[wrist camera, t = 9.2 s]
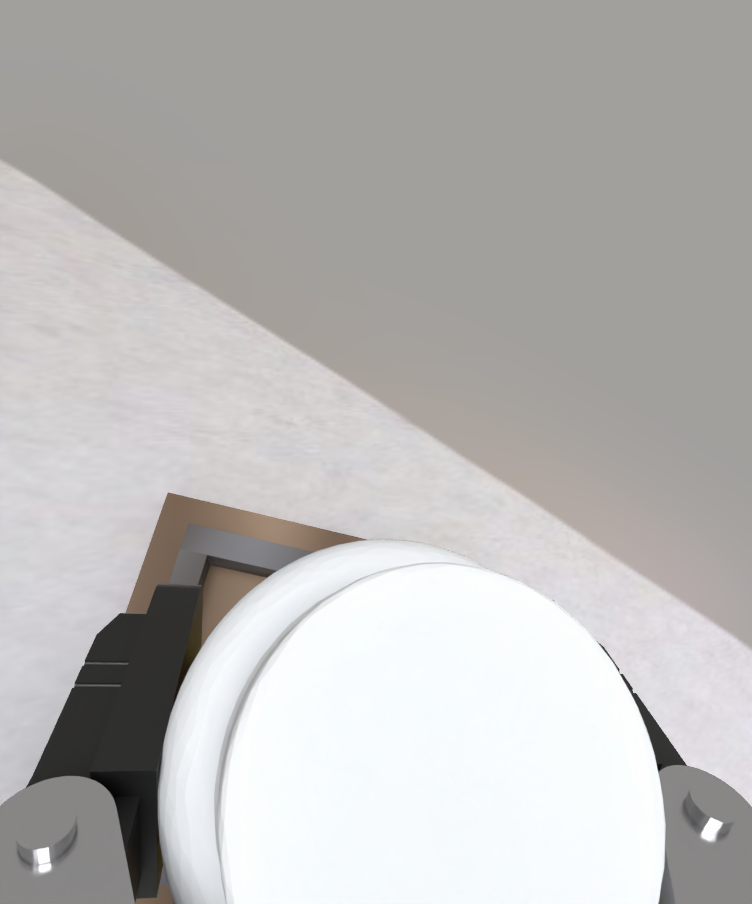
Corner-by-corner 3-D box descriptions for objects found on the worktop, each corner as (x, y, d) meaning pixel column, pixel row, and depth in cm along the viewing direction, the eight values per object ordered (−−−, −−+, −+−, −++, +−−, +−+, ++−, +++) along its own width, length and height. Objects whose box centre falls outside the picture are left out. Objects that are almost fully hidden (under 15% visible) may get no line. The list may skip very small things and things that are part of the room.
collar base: (34, 891, 19) (-1, 925, 16) (170, 499, 25) (161, 476, 22) (434, 952, 21) (462, 992, 18) (477, 571, 26) (503, 558, 24)
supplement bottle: (289, 567, 15) (346, 381, 6) (469, 678, 15) (809, 660, 6) (154, 778, 13) (-87, 997, 4) (364, 912, 13) (658, 1490, 4)
